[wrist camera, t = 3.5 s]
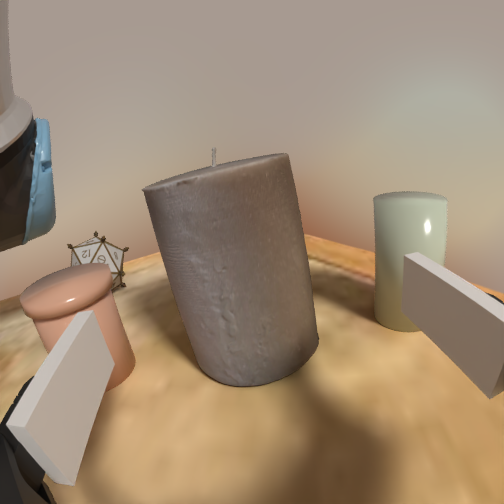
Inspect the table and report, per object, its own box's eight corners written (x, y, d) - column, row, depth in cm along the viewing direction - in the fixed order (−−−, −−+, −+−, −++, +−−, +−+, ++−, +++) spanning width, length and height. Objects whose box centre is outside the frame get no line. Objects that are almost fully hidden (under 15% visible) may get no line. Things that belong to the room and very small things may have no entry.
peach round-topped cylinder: (48, 370, 23) (13, 290, 20) (113, 335, 29) (87, 258, 26) (79, 412, 18) (30, 316, 16) (157, 363, 24) (127, 270, 21)
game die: (112, 313, 41) (106, 247, 45) (147, 299, 37) (140, 224, 41) (56, 309, 34) (54, 236, 37) (84, 293, 30) (82, 208, 33)
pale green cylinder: (364, 324, 25) (363, 204, 22) (385, 292, 29) (384, 190, 26) (432, 337, 21) (444, 209, 18) (442, 301, 26) (449, 193, 22)
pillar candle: (312, 307, 28) (282, 135, 24) (326, 379, 19) (288, 128, 14) (208, 323, 29) (164, 162, 25) (183, 393, 20) (107, 173, 16)
